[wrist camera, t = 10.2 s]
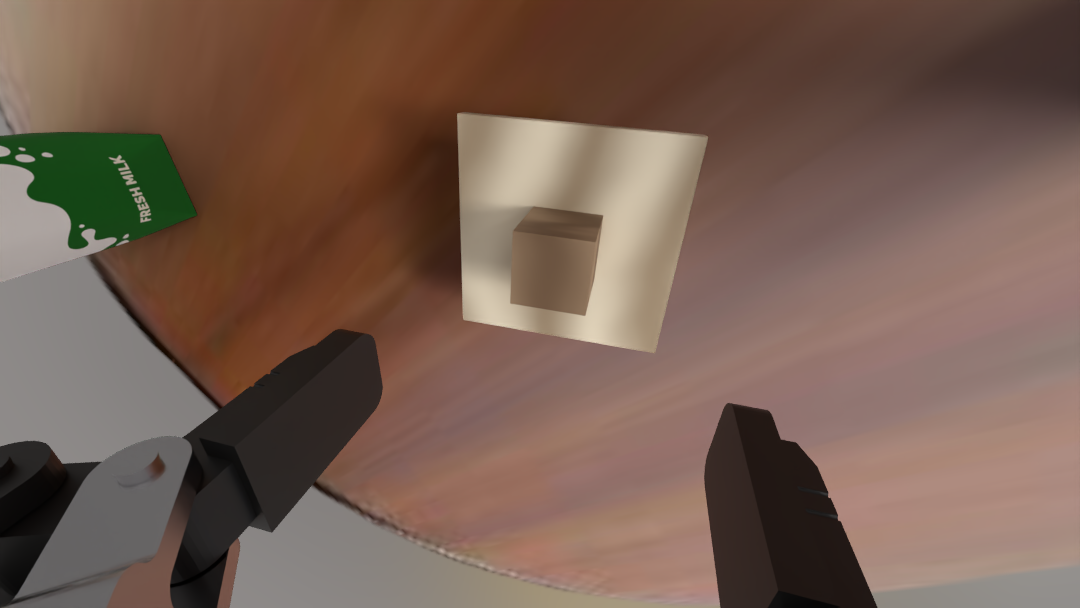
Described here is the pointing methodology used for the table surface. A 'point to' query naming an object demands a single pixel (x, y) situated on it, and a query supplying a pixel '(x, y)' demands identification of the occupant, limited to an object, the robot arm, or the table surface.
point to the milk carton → (82, 195)
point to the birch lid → (573, 225)
